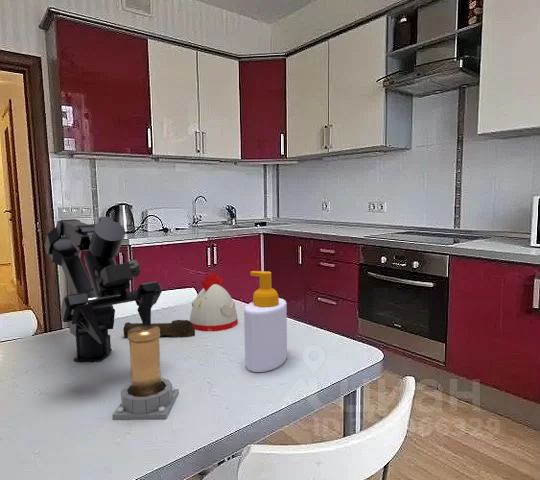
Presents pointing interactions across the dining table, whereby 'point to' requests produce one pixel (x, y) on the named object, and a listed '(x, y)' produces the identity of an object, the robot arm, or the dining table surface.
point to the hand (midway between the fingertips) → (126, 337)
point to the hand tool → (167, 328)
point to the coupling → (145, 360)
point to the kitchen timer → (213, 307)
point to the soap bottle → (265, 327)
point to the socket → (146, 403)
